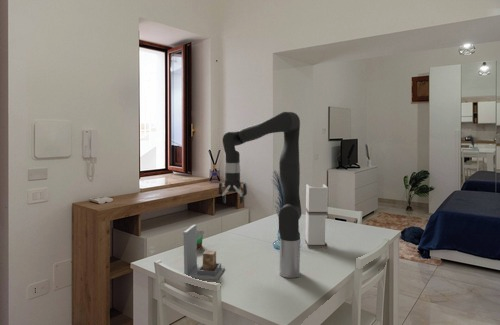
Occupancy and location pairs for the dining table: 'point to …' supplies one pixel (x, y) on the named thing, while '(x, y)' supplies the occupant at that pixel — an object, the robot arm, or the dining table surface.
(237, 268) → the dining table surface
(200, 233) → the food container
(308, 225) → the white square tower
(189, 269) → the grey socket stand
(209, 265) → the walnut block
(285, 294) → the dining table surface
